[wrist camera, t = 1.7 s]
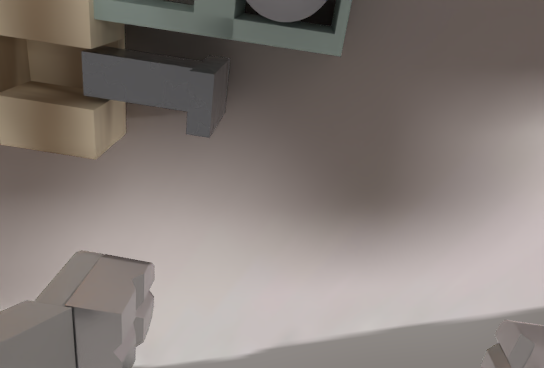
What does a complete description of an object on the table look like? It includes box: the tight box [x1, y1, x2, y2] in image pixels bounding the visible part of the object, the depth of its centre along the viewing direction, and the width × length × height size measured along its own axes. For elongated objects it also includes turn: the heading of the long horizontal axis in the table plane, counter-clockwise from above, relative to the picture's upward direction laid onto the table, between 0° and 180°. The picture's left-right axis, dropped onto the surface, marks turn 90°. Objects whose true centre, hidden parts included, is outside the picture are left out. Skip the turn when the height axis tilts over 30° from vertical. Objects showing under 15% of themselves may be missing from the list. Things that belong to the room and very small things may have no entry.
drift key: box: [81, 46, 230, 138], centre depth 23 cm, size 8×3×5 cm, turn 82°
